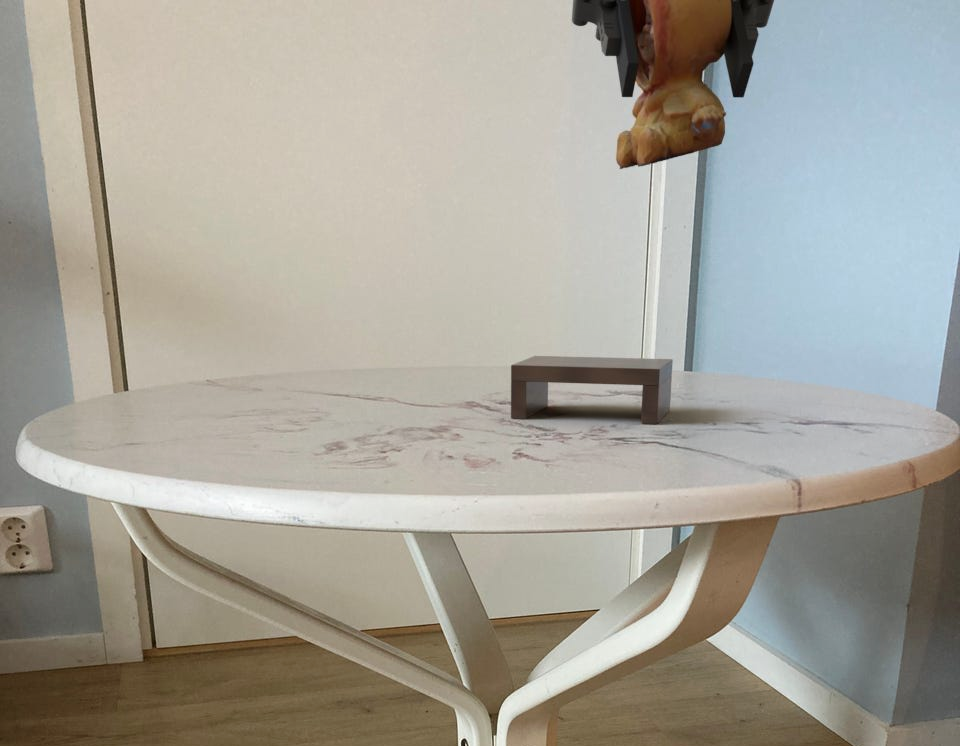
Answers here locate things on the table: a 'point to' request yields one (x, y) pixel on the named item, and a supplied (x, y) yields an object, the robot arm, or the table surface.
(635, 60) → the robot arm
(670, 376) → the shelf
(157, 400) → the table surface
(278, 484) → the table surface
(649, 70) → the figurine
